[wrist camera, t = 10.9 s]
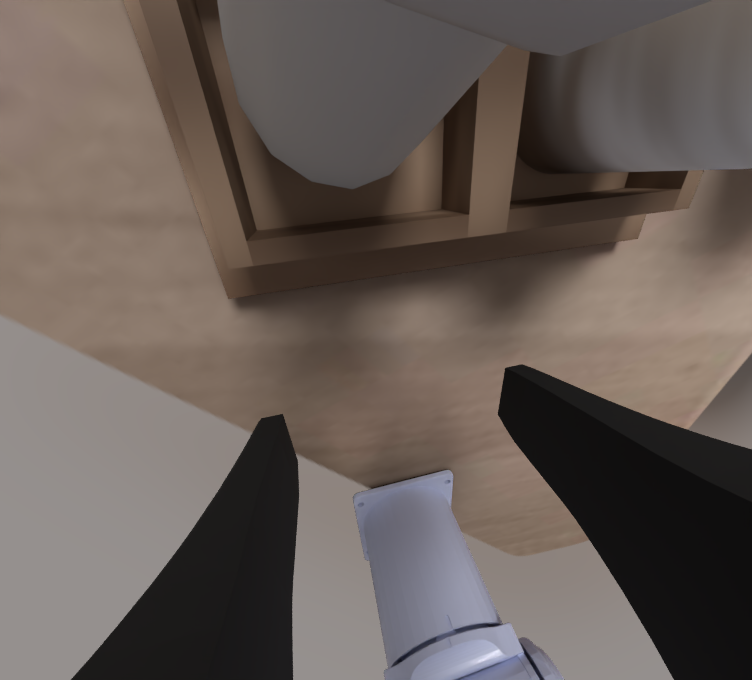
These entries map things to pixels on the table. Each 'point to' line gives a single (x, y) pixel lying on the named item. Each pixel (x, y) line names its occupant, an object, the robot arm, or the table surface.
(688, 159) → the wooden condiment caddy
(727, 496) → the robot arm
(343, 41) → the salt shaker
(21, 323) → the table surface
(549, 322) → the table surface
